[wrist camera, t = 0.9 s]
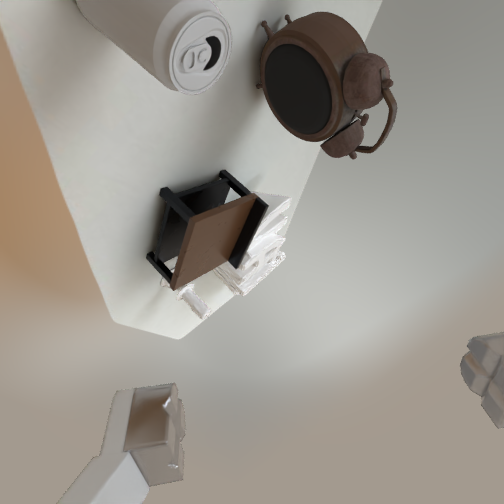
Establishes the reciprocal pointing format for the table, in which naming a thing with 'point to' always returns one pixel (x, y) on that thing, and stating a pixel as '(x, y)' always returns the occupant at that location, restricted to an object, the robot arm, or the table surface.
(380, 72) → the alarm clock
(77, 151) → the table surface
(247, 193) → the miniature side table
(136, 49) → the beverage can
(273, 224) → the wavy white extrusion
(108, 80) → the table surface
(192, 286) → the candle
